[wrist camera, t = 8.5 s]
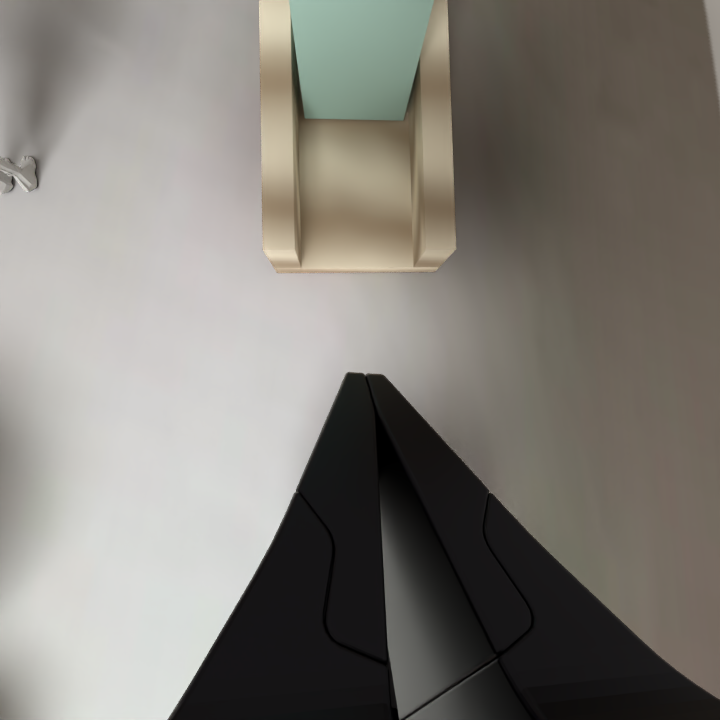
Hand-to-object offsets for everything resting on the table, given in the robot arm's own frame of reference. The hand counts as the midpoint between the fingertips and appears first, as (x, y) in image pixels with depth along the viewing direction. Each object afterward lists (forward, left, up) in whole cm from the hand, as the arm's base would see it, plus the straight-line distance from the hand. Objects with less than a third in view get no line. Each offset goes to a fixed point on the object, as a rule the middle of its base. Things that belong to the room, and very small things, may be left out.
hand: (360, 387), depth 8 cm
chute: (+11, -10, -13) cm, 20 cm away
